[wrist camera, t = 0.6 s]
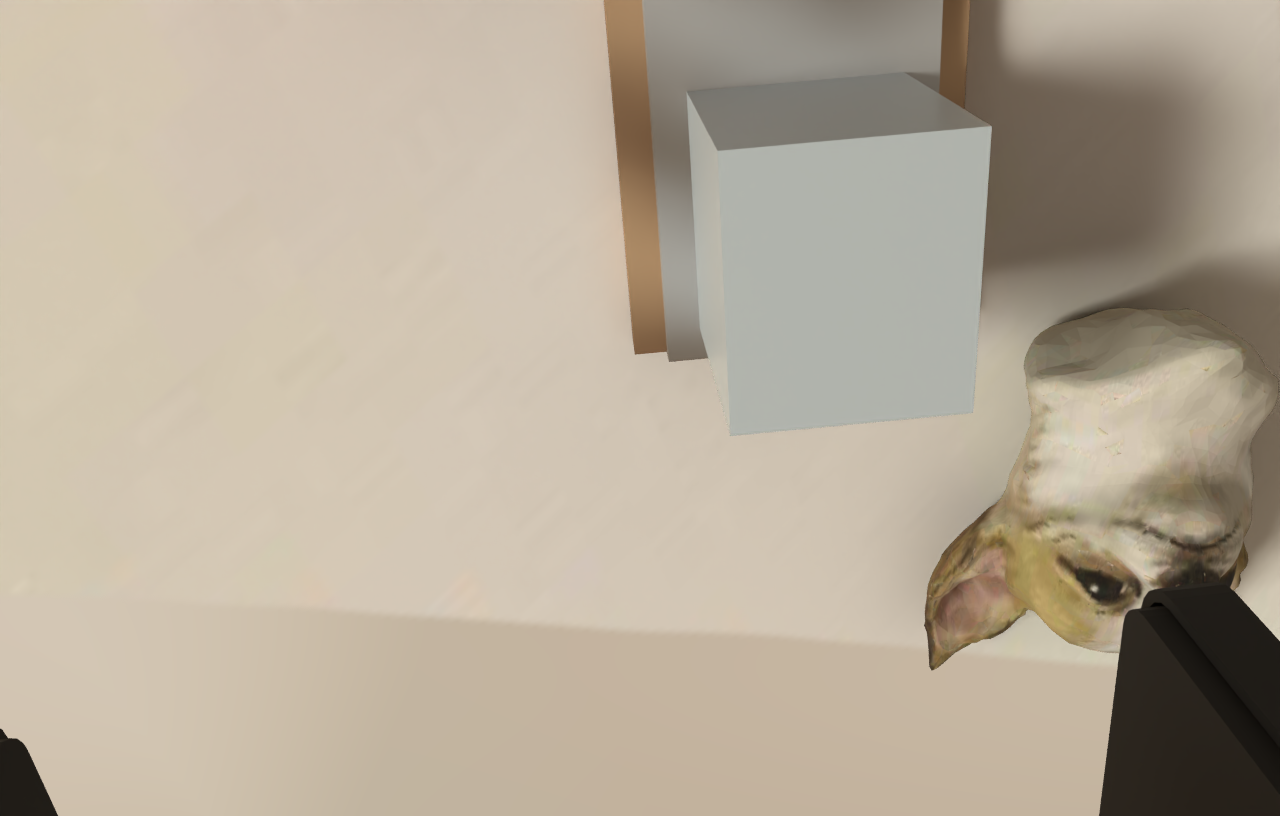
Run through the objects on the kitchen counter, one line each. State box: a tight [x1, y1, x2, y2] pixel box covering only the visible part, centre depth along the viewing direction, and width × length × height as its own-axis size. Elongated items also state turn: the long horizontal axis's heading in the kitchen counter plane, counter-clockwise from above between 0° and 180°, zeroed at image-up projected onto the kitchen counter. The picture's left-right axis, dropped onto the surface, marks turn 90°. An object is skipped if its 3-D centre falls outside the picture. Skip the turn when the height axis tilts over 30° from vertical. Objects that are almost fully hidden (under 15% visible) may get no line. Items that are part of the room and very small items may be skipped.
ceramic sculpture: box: [924, 308, 1279, 670], centre depth 35 cm, size 11×9×15 cm
